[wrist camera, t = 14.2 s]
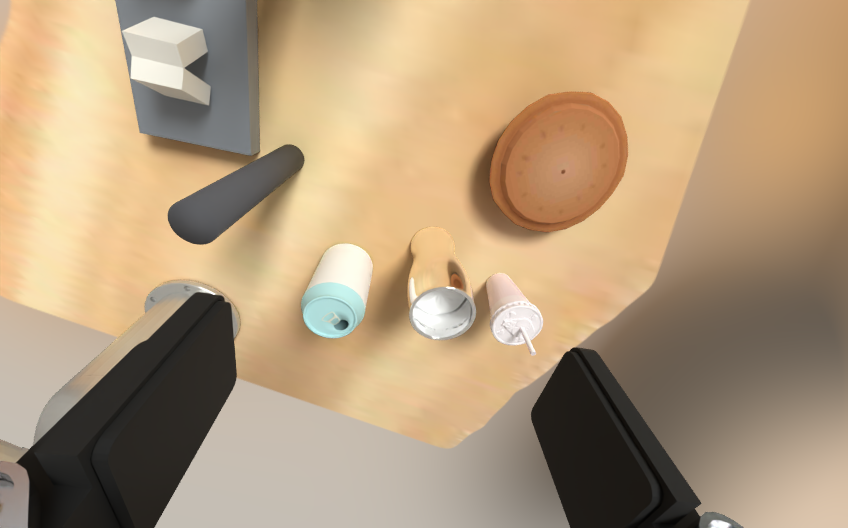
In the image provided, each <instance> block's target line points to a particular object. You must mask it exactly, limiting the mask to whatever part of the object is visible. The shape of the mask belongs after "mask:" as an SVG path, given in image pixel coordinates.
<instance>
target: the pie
mask: <svg viewBox="0 0 848 528" xmlns="http://www.w3.org/2000/svg"><path fill="white" fill-rule="evenodd" d="M627 157H628V144H627V134H626V131H625V128H624V124H623V121H622V118H621V116H620V115H619V114H618V112H617V111H616V110H615V109H614V108H613V106H612V105H611V104H610V103H609V102H608V101H606V100H604V99H602V98H600V97H598V96H596V95H595V94H593V93H588V92H564V93H557V94H549V95H547V96H545V97H543V98H541V99H540V100H538V101H536V102H534V103H533V104H531V105H529V106H527V107H526V108H525V109H524V110H523V111H522V112H521V113H520V114H519V115H518V116H516V117H515V118H514V119H513V120H512V121H511V122H510V124H509V125H508V127H507V128H506V130H505V131H504V133H503V134H502V136H501V137H500V139H499V140H498V142H497V145H496V148H495V151H494V154H493V157H492V160H491V167H490V178H489V183H490V188H491V192H492V196H493V200H494V201H495V203H496V204H497V205H498V207H499V208H500V209H501V211H502V212H503V213H504V214H505V215H506V216H507V217H508V218H509V219H510V220H511V221H512V222H513V223H514V224H516V225H519V226H522V227H524V228H527V229H530V230H536V231H543V232H552V231H557V230H563V229H567V228H569V227H571V226H573V225H575V224H578V223H580V222H582V221H584V220H585V219H586V218H588V217H589V216H590V215H592V214H593V213H594V212H596V211H597V210H598V209H599V208H600V207H601V206H602V205H603V204H604V203H605V202H606V200H607V199H608V198H609V197H610V196H611V195H612V193H613V192H614V190H615V189H616V187H617V185H618V184H619V182H620V181H621V179H622V177H623V176H624V172H625V167H626V162H627Z"/></svg>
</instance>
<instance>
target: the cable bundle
mask: <svg viewBox="0 0 848 528" xmlns="http://www.w3.org/2000/svg"><path fill="white" fill-rule="evenodd" d="M303 164H304V155H303V153H302V152H301V150H300V149H299V148H297V147H296V146H294V145H284V146H282V147H280V148H278V149H276V150H274V151H273V152H271V153H269V154H267V155H265V156H263V157H261V158H259V159H257V160H256V161H254V162H252V163H250V164H248V165H246V166H244V167H242V168H240V169H239V170H237V171H235V172H233V173H231V174H229V175H227V176H225V177H224V178H222V179H220V180H218V181H216V182H214V183H212V184H210V185H208V186H207V187H205V188H203V189H201V190H199V191H197V192H195V193H193V194H192V195H190V196H188V197H186V198H184V199H182V200H180V201H178V202H176V203H175V204H173V205H172V206H171V207H170V209H169V211H168V221H169V224H170V226H171V228H172V229H173V231H174V232H175V233H176V234H177V235H178V236H179V237H181V238H182V239H184V240H186V241H188V242H190V243H193V244H208V243H210V242H212V241H213V240H215V239H216V238H217V237H218V236H219V235H221V234H222V233H223V232H224V231H226V230H227V229H228V228H229V227H230V226H232V225H233V224H234V223H235V222H236V221H238V220H239V219H240V218H241V217H242V216H244V215H245V214H246V213H247V212H249V211H250V210H251V209H252V208H253V207H255V206H256V205H257V204H258V203H259V202H261V201H262V200H263V199H264V198H265V197H267V196H268V195H269V194H270V193H271V192H273V191H274V190H275V189H276V188H278V187H279V186H280V185H281V184H282V183H284V182H285V181H286V180H287V179H288V178H290V177H291V176H292V175H293V174H294V173H296V172H297V171H298V170H299V169H301V168H302V166H303Z"/></svg>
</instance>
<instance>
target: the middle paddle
mask: <svg viewBox="0 0 848 528" xmlns="http://www.w3.org/2000/svg"><path fill="white" fill-rule="evenodd" d="M122 33H123V35H124V38H125V40H126V43H127V45H128V48H129V50H130V53H131V55H132V56H135V57H139V58H143V59H147V60H152V61H156V62H160V63H164V64H169V65H173V66H177V67H181V68H185V67H186V66H188V65H189V64H191V63H192V62H194V61H195V60H196V59H198V58H199V57H201V56H202V55H204V54H205V53H206V52H208V50H207V46H206V41H205V37H204V33H203V29H200V28H196V27H192V26H188V25H184V24H180V23H177V22H173V21H169V20H165V19H161V18H157V17H152V18H150V19H148V20H145V21H143V22H141V23H139V24H136V25H134V26H132V27H130V28H127V29H125V30H123V31H122Z"/></svg>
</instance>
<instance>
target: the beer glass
mask: <svg viewBox="0 0 848 528" xmlns="http://www.w3.org/2000/svg"><path fill="white" fill-rule="evenodd" d="M410 248H411V254H412V257H413V259H414V261H413V264H412V267H411V270H410V273H409V278H408V284H407V300H408V308H409V319H410V322H411V325H412V326H413V328H414V329H415V330H416V331H417V332H418V333H419V334H421V335H422V336H424V337H426V338H429V339H433V340H448V339H452V338H455V337H458V336H460V335H462V334H463V333H465V332H466V331H467V330H468V329H469V328H470V327H471V325H472V324H473V322H474V320H475V317H476V307H475V303H474V297H473V291H472V287H471V283H470V280H469V277H468V275H467V272H466V270H465V269H464V267H463V265H462V264H461V262H460V261H459V259H458V258H457V257H456V255H455V254H454V252H455V243H454V239H453V237H452V236H451V234H450V233H449V232H448V231H446V230H445V229H443V228H440V227H427V228H424V229H422V230H420V231H419V232H417V233H416V234H415V236H414V237H413V239H412V242H411V247H410Z"/></svg>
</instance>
